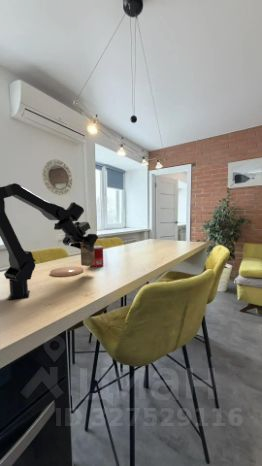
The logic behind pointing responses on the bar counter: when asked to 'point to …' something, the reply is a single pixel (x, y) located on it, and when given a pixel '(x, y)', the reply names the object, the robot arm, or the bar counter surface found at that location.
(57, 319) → the bar counter surface
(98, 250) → the canned food
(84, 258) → the walnut block
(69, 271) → the terracotta dish
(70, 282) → the bar counter surface
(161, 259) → the bar counter surface
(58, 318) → the bar counter surface
